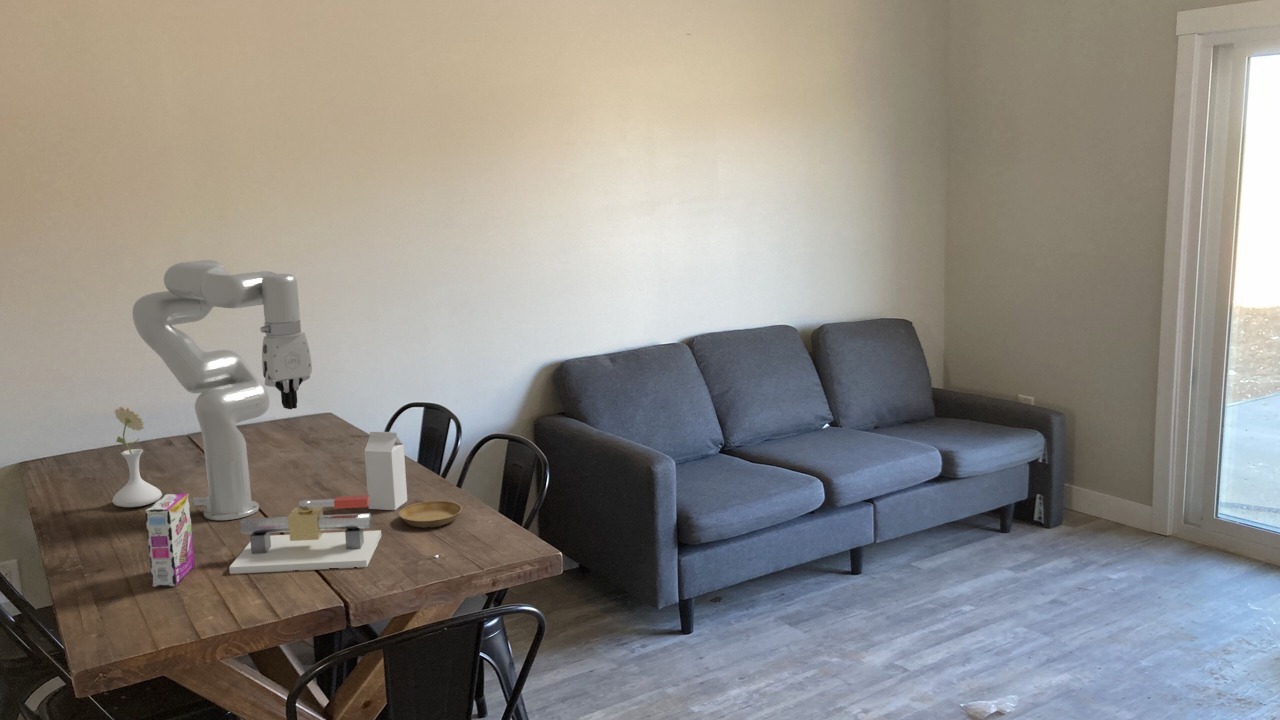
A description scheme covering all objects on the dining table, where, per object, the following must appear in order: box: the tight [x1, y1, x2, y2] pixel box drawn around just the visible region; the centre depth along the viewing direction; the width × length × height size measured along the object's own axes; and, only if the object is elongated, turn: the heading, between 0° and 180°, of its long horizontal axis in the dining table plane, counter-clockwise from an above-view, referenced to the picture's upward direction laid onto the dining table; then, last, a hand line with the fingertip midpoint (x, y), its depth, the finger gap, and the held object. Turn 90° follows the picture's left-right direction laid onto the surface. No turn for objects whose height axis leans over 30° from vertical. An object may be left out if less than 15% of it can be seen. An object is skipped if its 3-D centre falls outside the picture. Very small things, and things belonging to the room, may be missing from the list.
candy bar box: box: [144, 493, 196, 588], centre depth 204 cm, size 11×5×16 cm, turn 5°
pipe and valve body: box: [239, 506, 372, 554], centre depth 215 cm, size 27×6×9 cm, turn 95°
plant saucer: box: [398, 500, 463, 529], centre depth 236 cm, size 15×15×3 cm
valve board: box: [228, 529, 382, 575], centre depth 216 cm, size 28×18×2 cm, turn 95°
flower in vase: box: [112, 406, 163, 508], centre depth 251 cm, size 13×11×25 cm
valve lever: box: [298, 494, 370, 510], centre depth 214 cm, size 3×15×2 cm, turn 95°
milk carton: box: [364, 430, 408, 511], centre depth 246 cm, size 7×7×19 cm
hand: (290, 407), depth 227 cm, fingers closed
